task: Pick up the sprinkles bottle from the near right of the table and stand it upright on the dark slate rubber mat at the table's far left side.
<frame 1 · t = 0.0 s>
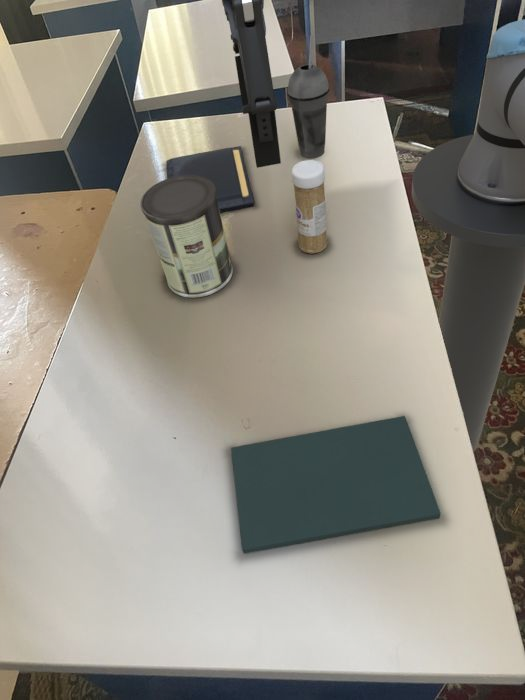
hand: (260, 134, 68), 22 cm above the table, tool pointing down, fingers open, 13 cm apart
side mat: (329, 482, 61), on the table
beverage cup: (312, 153, 106), on the table
sprinkles bottle: (313, 246, 88), on the table
coffee can: (200, 276, 87), on the table
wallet: (208, 184, 103), on the table
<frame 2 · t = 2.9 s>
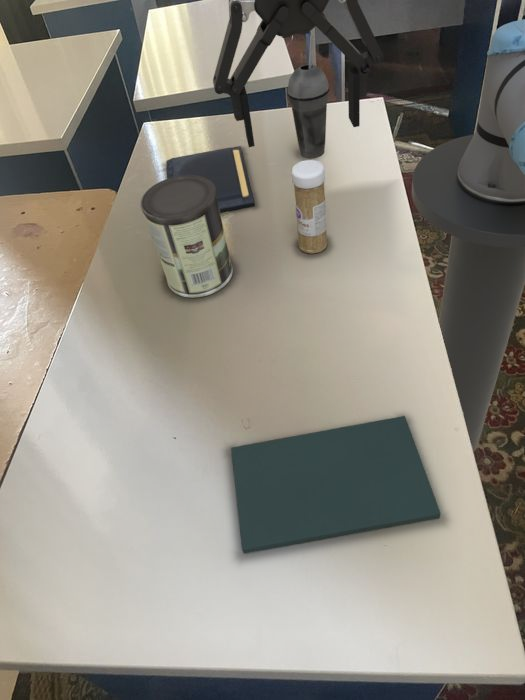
hand: (302, 132, 73), 19 cm above the table, tool pointing down, fingers open, 13 cm apart
nothing on the table moved.
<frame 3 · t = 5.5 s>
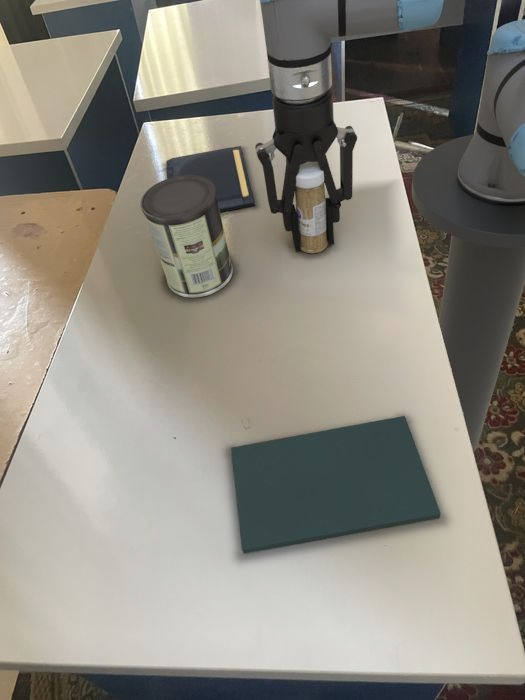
hand: (313, 241, 87), 1 cm above the table, tool pointing down, fingers closed on sprinkles bottle, 4 cm apart
sprinkles bottle: (313, 246, 88), on the table, touching gripper
everything else where it was.
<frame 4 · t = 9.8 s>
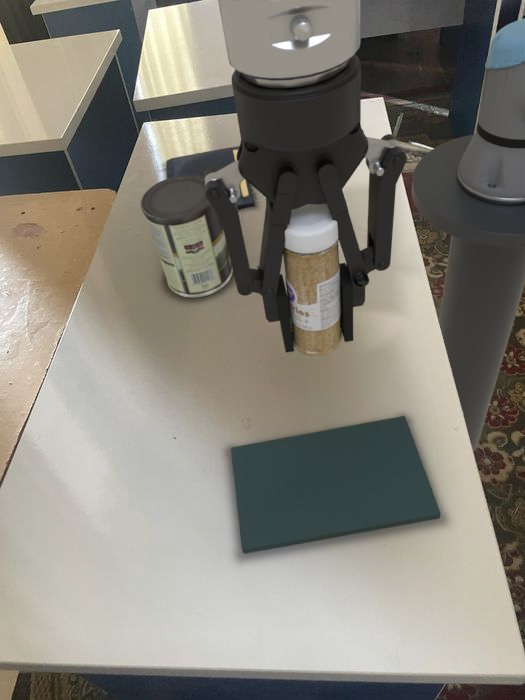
hand: (316, 335, 50), 19 cm above the table, tool pointing down, fingers closed on sprinkles bottle, 4 cm apart
sprinkles bottle: (317, 341, 50), point 18 cm above the table, touching gripper
everything else where it was.
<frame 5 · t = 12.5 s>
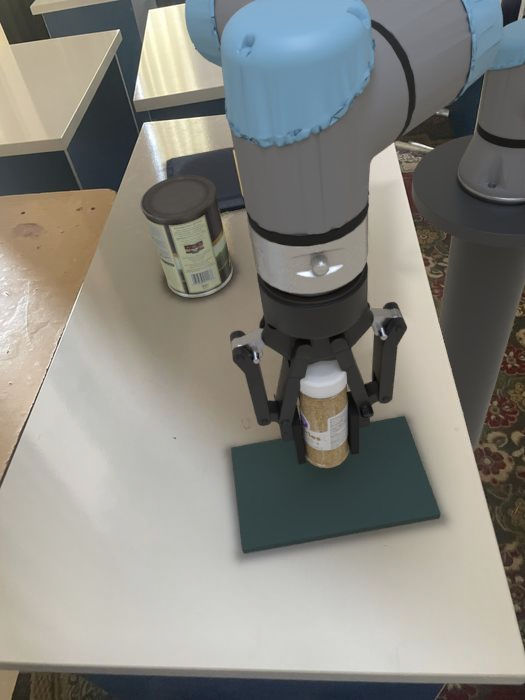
hand: (325, 446, 55), 7 cm above the table, tool pointing down, fingers closed on sprinkles bottle, 4 cm apart
sprinkles bottle: (326, 450, 56), point 7 cm above the table, touching gripper
everything else where it was.
when the fingers open (2 cm above the table, at t = 14.1 s): sprinkles bottle stays where it is, resting on side mat.
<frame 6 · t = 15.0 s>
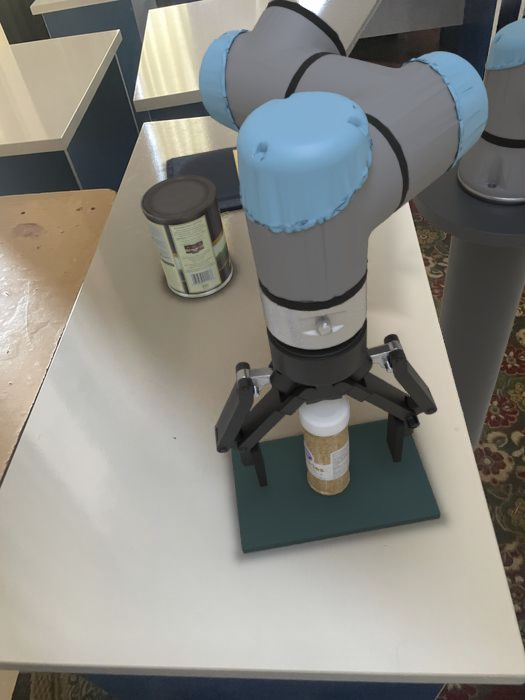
hand: (327, 462, 58), 4 cm above the table, tool pointing down, fingers open, 13 cm apart
sprinkles bottle: (329, 478, 60), point 1 cm above the table, touching side mat
everything else where it was.
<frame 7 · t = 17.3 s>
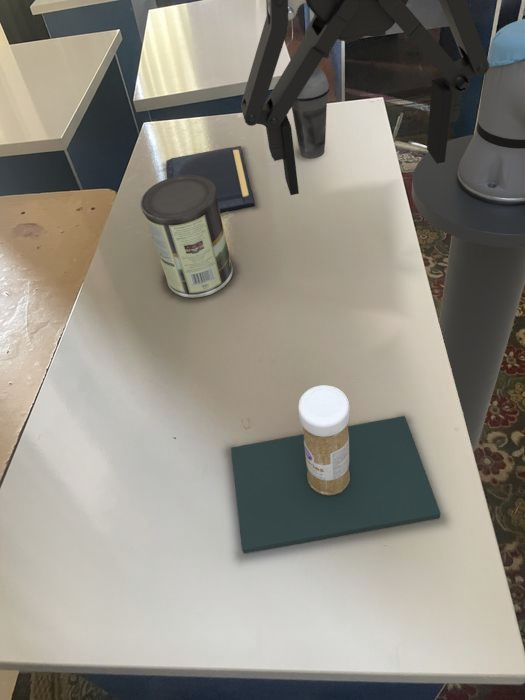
hand: (363, 171, 53), 26 cm above the table, tool pointing down, fingers open, 13 cm apart
nothing on the table moved.
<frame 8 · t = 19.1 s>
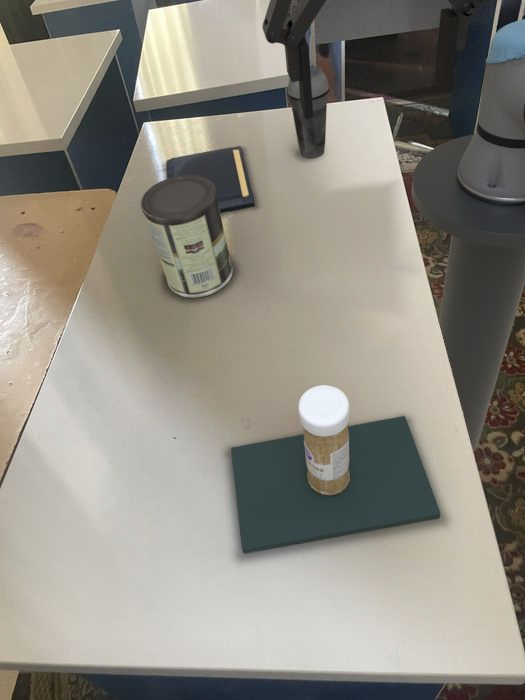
hand: (374, 98, 56), 29 cm above the table, tool pointing down, fingers open, 13 cm apart
nothing on the table moved.
at the end: sprinkles bottle inside the target area on the side mat (0.0 cm from its centre), point 0.8 cm above the side mat's base; sprinkles bottle tilted 0°; the gripper is holding nothing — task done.
